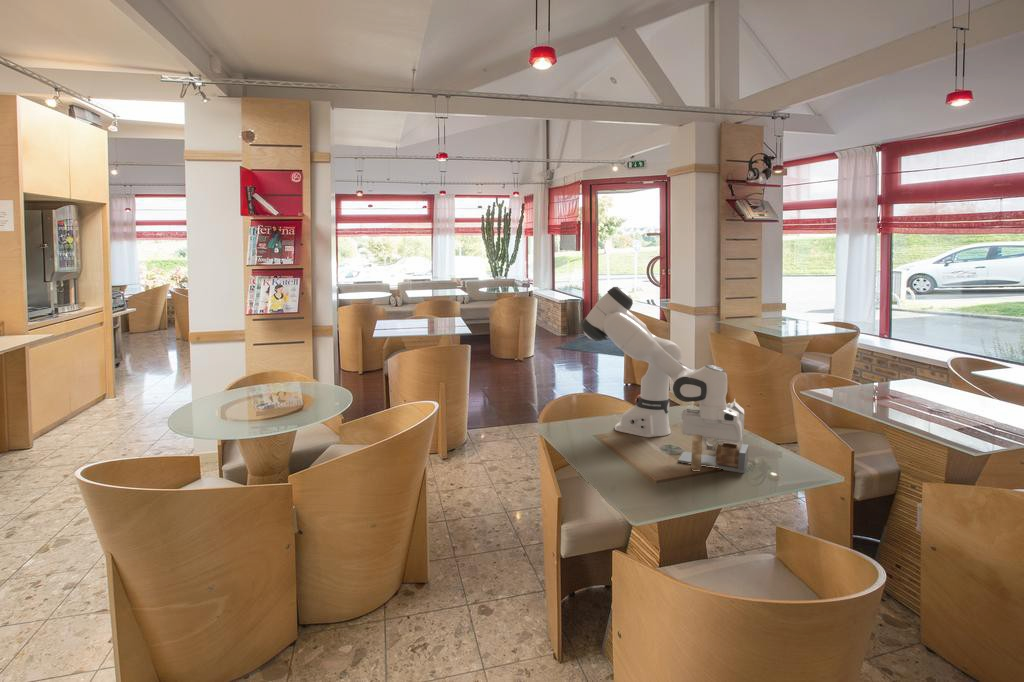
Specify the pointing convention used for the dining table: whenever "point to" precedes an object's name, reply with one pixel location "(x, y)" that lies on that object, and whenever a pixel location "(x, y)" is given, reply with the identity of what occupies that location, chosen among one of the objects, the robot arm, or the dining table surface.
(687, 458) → the grey l-shaped piece
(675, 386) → the robot arm
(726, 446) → the block
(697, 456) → the dowel
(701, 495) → the dining table surface
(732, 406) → the milk carton
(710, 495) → the dining table surface
